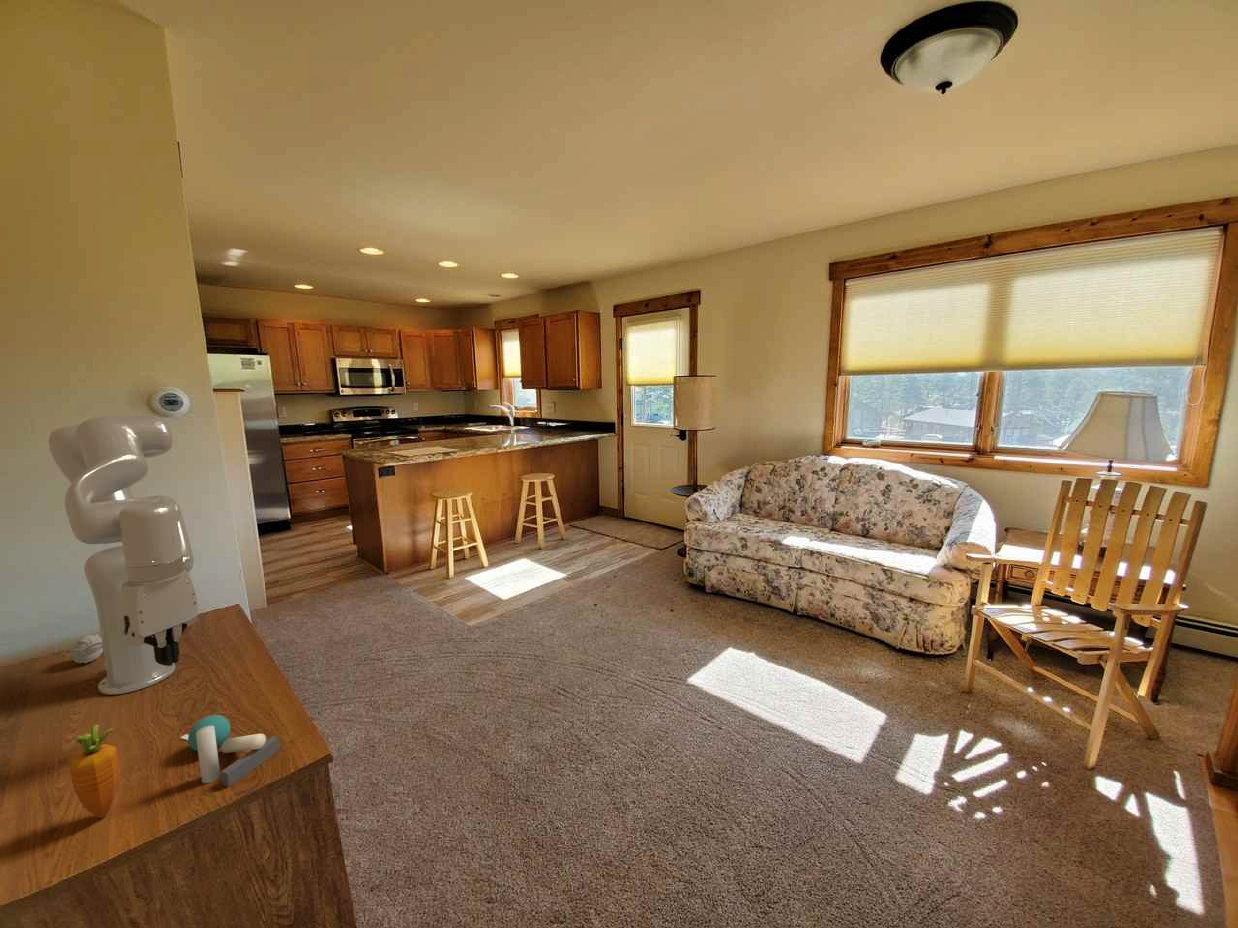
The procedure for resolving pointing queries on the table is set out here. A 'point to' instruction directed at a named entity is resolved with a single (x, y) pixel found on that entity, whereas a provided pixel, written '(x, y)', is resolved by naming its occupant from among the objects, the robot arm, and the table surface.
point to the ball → (219, 725)
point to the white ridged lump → (86, 649)
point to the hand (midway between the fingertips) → (168, 662)
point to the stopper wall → (249, 761)
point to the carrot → (95, 773)
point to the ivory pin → (243, 743)
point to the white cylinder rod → (208, 754)
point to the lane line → (185, 737)
